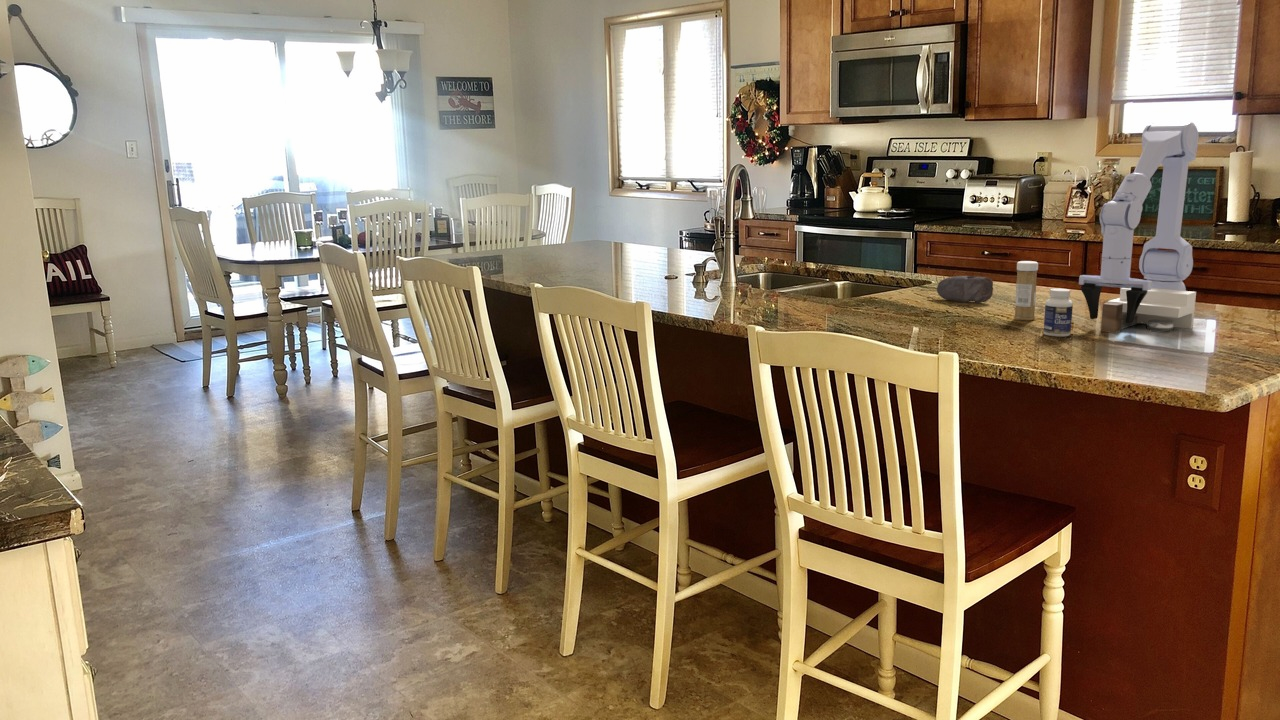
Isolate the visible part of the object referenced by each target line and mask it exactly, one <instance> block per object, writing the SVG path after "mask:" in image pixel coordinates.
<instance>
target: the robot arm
mask: <svg viewBox="0 0 1280 720" xmlns="http://www.w3.org/2000/svg"><path fill="white" fill-rule="evenodd" d="M1141 134H1142V135H1141V148H1142V151H1141V154H1140V157H1138V160H1137V163H1136V165H1135V168H1134V171H1133V172H1132V173H1129V174H1127V175H1126V176H1125V177H1124V178H1123V180H1122V181H1121V183H1120V185H1119V187H1118V189H1117V191H1116V192H1115V194H1114V196H1113V197H1112V200H1109V201H1107V203H1106V202H1105V203H1104V204H1103V205H1102V207H1101V209H1100V213H1099V224H1100V226H1101V230H1100V232H1101V233H1100V234H1101V236H1103V240H1102V254H1101V265H1100V266H1101V267H1100V275H1092V274H1091V275H1090V274H1082V275H1081V274H1080V275H1079V278H1078V285H1081V286H1082V287H1081V292H1082V295H1083V296H1084V299H1085V301H1086V304H1087V308H1088V313H1089V319H1091V320H1096V319H1097V318H1098V317H1099V307H1100V305H1099V302H1100V298H1101V293H1102V289H1103V287H1109V288H1130V289H1131V290H1128V291H1126V295H1127V313H1126V323H1132V322H1133V320H1134V317H1135V314H1136V311H1137V309H1138V307H1139V305H1140V303H1141V301H1142V300H1143V298H1144V297H1145V295H1146V294H1147V291H1148V290H1151V288H1158V289H1169V290H1180V291H1187V288H1186V284H1185V283H1184V282H1183V281H1184V280H1186V279H1187V278H1188V277H1189V276H1190V275H1191V273H1192V271H1193V267H1194V259H1193V245H1191V243H1189V242H1188V241H1187V240H1185V239H1184V238H1183V237H1182V236H1181V232H1182V224H1183V213H1184V206H1185V197H1186V189H1187V182H1188V172H1189V164H1190V163H1191V162H1192V161H1195V160H1196V158H1197V153H1198V152H1197V151H1198V144H1199V138H1200V137H1199V136H1200V134H1199V131H1198V128H1197V126H1196V125H1195V123H1194V122H1191V121H1190V122H1186V123H1185V122H1184V123H1183V122H1182V123H1181V122H1180V123H1178V122H1177V123H1175V122H1174V123H1154V122H1153V123H1148V124H1147V125H1146V126H1145V127H1144V129H1143V131H1142V133H1141ZM1160 165H1162V168H1163V169H1162V175H1161V176H1162V178H1161V187H1160V194H1159V195H1160V196H1159V203H1158V212H1157V214H1158V215H1157V221H1156V222H1157V223H1156V229H1155V230H1156V232H1155V235H1154V237H1153V238H1151V239H1150V240H1148V241H1146V242H1145V243H1144V244H1143V248H1142V251H1141V252H1142V253H1141V255H1140V256H1139V260H1138V261H1139V263H1138V268H1139V271H1140V273H1141V275H1142V276H1143V279H1141V278H1140V279H1139V278H1134V277H1133V278H1132V277H1131V266H1132V256H1133V255H1132V254H1133V244H1134V243H1133V242H1134V234H1135V233H1134V232H1135V231H1134V230H1135V229H1136V228H1137V227H1138V225H1139V224H1140V221H1141V218H1142V217H1141V216H1142V212H1143V204H1144V202H1145V200H1146V199H1147V196H1148V194H1149V192H1150V191H1151V190H1152V181H1151V178H1152V177H1153V175H1154V174H1155V172H1156V171H1157V170H1158V168H1159V167H1160ZM1161 249H1162V250H1161ZM1163 249H1164V250H1163ZM1165 249H1166V250H1165Z"/></svg>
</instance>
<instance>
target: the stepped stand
mask: <svg viewBox="0 0 1280 720" xmlns="http://www.w3.org/2000/svg"><path fill="white" fill-rule="evenodd" d="M1128 290H1131V289H1130V288H1120V289H1119V291H1120V292H1119V297H1118V298H1114V299H1110V300H1107V302H1106V303H1108V302H1112V303H1121V304H1123V309H1122V318H1125V317H1126V313H1127V295H1126V291H1128ZM1196 296H1197V291H1190V290H1189V291H1188V290H1186V291H1180V290H1169V289H1158V288H1151V290H1148V291H1147V294H1146V295H1145V297H1144V298H1143V300H1142V301H1141V303H1140V305H1139V307H1138V309H1137V311H1136V314H1135V316H1137V322H1136V324H1145V325H1148V320H1168V321H1173V322H1174V325H1173V328H1178V329H1180V328H1181V329H1189V330H1191V329H1193V328H1194V318H1195V308H1196V300H1197V299H1196V298H1197V297H1196Z"/></svg>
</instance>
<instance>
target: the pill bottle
mask: <svg viewBox="0 0 1280 720" xmlns="http://www.w3.org/2000/svg"><path fill="white" fill-rule="evenodd" d="M1049 297H1050V298H1048V299H1046V301H1045V307H1044V319H1043V331H1042V333H1043V334H1044V335H1045V336H1048V337H1049V336H1050V337H1054V338H1055V337H1056V338H1061V337H1063V338H1065V337H1069V336H1070V335H1071V332H1072V331H1071V330H1072V319H1073V308H1074V306H1073V301H1072V300H1071V299H1069V298H1070V297H1071V289H1067V288H1059V287H1058V288H1055V287H1054V288H1051V289H1049Z"/></svg>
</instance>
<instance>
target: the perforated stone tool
mask: <svg viewBox="0 0 1280 720" xmlns="http://www.w3.org/2000/svg"><path fill="white" fill-rule="evenodd" d="M993 286H994V281H993V280H992V279H991V278H990V277H987V276H974V275H973V276H972V275H957V276H949V277H945V278H944V279H941V280H940V281H939V282H938V284H937V287H936V292H937V295H939V297H940V298H942V299H944V300H946V301H954V302H957V303H966V304H967V303H969V302H974V304H981V303H986V302H988V301H989V300H990V299H991V298H992V296H993V292H994V287H993Z"/></svg>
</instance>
